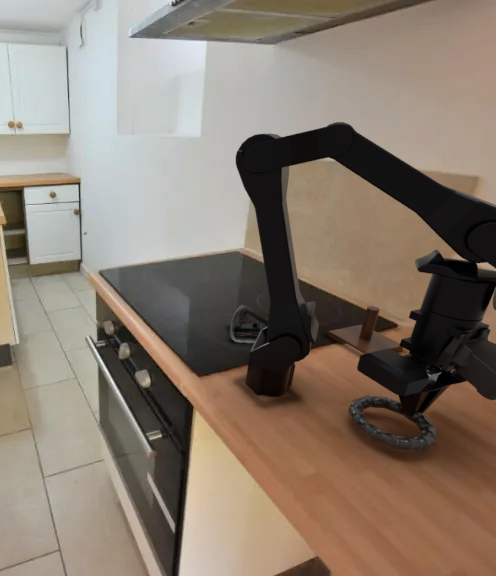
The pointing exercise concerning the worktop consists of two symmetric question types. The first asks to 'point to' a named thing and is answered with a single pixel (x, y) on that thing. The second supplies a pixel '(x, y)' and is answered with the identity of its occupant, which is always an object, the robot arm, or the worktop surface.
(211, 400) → the worktop surface
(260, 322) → the grey curved frame
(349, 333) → the post
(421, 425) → the ring
